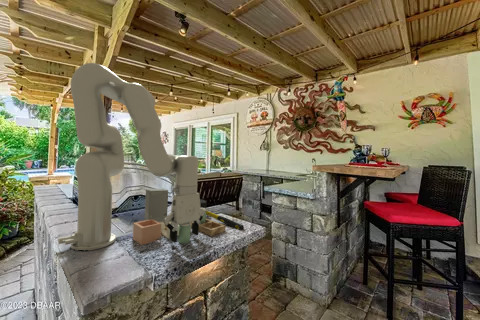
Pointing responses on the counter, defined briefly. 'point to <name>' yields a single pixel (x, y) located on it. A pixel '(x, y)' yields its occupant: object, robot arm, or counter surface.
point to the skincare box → (156, 204)
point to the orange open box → (146, 231)
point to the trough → (211, 227)
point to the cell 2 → (203, 217)
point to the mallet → (220, 218)
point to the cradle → (167, 233)
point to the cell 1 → (184, 233)
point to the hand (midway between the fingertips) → (184, 237)
